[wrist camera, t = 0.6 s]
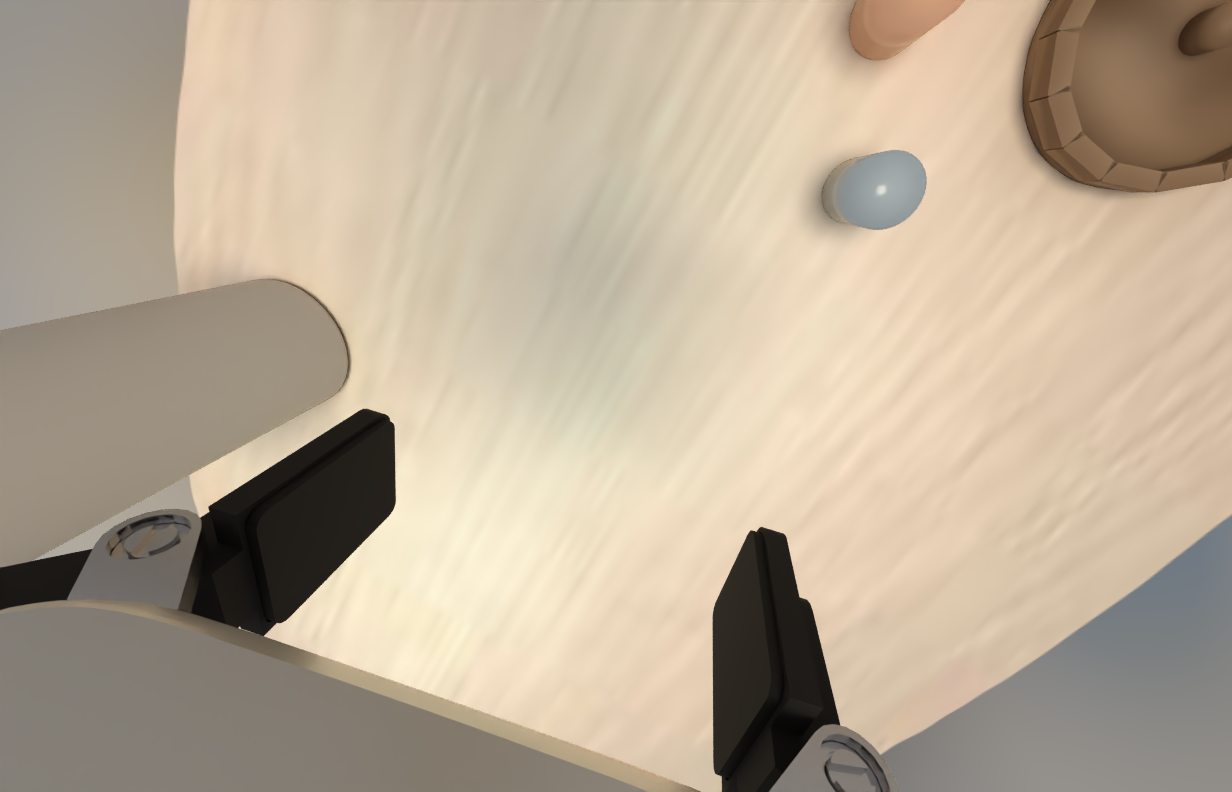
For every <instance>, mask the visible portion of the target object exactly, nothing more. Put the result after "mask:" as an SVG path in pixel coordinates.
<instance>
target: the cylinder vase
mask: <svg viewBox="0 0 1232 792" xmlns="http://www.w3.org/2000/svg"><path fill="white" fill-rule="evenodd" d="M347 369H348V357H347V351H346V346H345V343H344V340H343V337H342V335H341V333H340V331H339V329H338V327H337V325H336V324H335V322H334V321H333V319H332V318H331V316H330V315H329V314H328V313H327V311H326V310H325V309H324V308H323V307H322V306H321V305H320V304H319V303H318V302H317V301H316V300H315V299H313V298H312V297H311V296H310V295H308V294H307V293H305V292H304V291H302V290H300V289H299V288H297V287H295V286H292V285H290V284H288V283H285V282H281V281H277V280H270V279H259V280H253V281H248V282H243V283H238V284H233V285H228V286H223V287H217V288H212V289H207V290H202V291H197V292H192V293H187V294H182V295H177V296H172V297H167V298H162V299H157V300H152V301H147V302H142V303H136V304H131V305H126V306H121V307H116V308H111V309H106V310H101V311H96V312H91V313H86V314H80V315H75V316H70V317H65V318H60V319H55V320H50V321H45V322H40V323H35V324H30V325H25V326H20V327H15V328H10V329H4V330H0V567H5V566H10V565H15V564H20V563H25V562H30V561H33V560H34V559H36V558H38V557H40V556H42V555H44V554H45V553H47V552H49V551H51V550H53V549H55V548H56V547H58V546H60V545H62V544H64V543H66V542H67V541H69V540H71V539H73V538H74V537H76V536H78V535H80V534H82V533H84V532H86V531H87V530H89V529H91V528H93V527H95V526H97V525H98V524H100V523H102V522H104V521H106V520H107V519H109V518H111V517H113V516H115V515H116V514H119V513H120V512H122V511H124V510H126V509H128V508H130V507H131V506H133V505H135V504H137V503H139V502H140V501H142V500H144V499H146V498H147V497H150V496H152V495H153V494H155V493H157V492H158V491H161V490H162V489H164V488H166V487H168V486H170V485H172V484H173V483H175V482H177V481H179V480H181V479H183V478H184V477H186V476H188V475H190V474H192V473H194V472H195V471H197V470H199V469H201V468H203V467H205V466H206V465H208V464H210V463H212V462H214V461H216V460H217V459H219V458H221V457H223V456H225V455H227V454H228V453H230V452H232V451H234V450H236V449H238V448H239V447H241V446H243V445H245V444H247V443H248V442H250V441H252V440H254V439H256V438H258V437H259V436H261V435H263V434H265V433H267V432H269V431H270V430H272V429H274V428H276V427H278V426H280V425H281V424H283V423H285V422H287V421H289V420H291V419H292V418H294V417H296V416H298V415H300V414H302V413H303V412H305V411H307V410H309V409H311V408H313V407H314V406H316V405H318V404H320V403H322V402H324V401H325V400H327V399H329V398H331V397H332V396H333V395H335V394H336V393H337V392H338V391H339V389H340V388H341V386H342V385H343V383H344V381H345V378H346V375H347Z"/></svg>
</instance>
